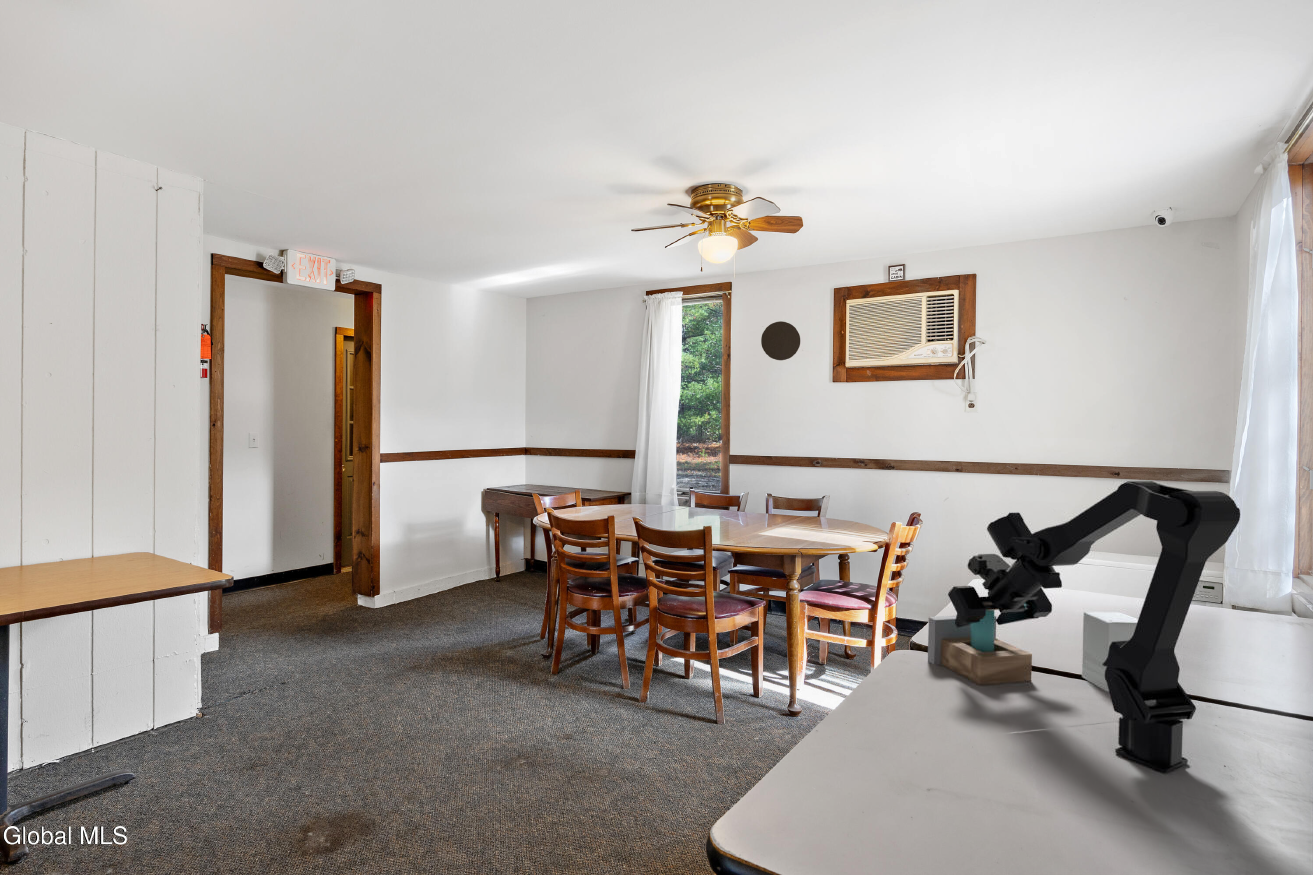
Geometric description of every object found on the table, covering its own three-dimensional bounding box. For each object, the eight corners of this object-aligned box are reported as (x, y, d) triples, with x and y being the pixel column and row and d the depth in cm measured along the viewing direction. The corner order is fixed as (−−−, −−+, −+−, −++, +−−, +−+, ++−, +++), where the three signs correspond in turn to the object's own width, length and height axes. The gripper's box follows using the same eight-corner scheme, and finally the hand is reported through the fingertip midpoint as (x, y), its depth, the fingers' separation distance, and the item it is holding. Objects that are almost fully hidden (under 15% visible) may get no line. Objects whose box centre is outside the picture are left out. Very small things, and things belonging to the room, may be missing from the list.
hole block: (1031, 680, 125) (1031, 654, 124) (979, 685, 122) (980, 657, 122) (988, 660, 135) (989, 635, 135) (940, 664, 133) (941, 638, 133)
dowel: (996, 669, 127) (997, 603, 127) (973, 668, 128) (974, 602, 128) (990, 663, 131) (991, 598, 131) (968, 661, 132) (969, 597, 132)
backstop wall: (995, 660, 136) (996, 616, 135) (934, 665, 132) (935, 619, 132) (988, 657, 138) (989, 613, 137) (927, 662, 134) (928, 617, 134)
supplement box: (1147, 693, 120) (1149, 623, 120) (1105, 692, 120) (1107, 622, 120) (1120, 678, 127) (1122, 611, 127) (1080, 677, 128) (1082, 610, 127)
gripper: (1041, 541, 127) (997, 585, 138) (955, 543, 123) (917, 589, 134) (1075, 593, 120) (1026, 635, 131) (985, 597, 116) (942, 641, 126)
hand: (977, 623), depth 131 cm, fingers open, 9 cm apart
